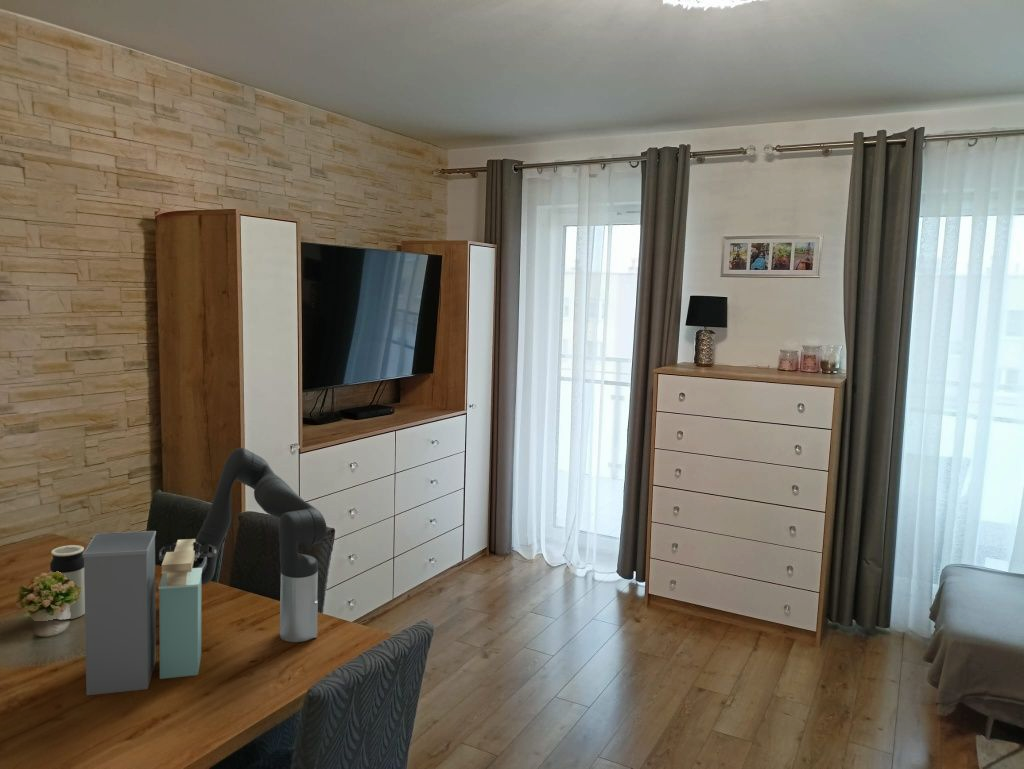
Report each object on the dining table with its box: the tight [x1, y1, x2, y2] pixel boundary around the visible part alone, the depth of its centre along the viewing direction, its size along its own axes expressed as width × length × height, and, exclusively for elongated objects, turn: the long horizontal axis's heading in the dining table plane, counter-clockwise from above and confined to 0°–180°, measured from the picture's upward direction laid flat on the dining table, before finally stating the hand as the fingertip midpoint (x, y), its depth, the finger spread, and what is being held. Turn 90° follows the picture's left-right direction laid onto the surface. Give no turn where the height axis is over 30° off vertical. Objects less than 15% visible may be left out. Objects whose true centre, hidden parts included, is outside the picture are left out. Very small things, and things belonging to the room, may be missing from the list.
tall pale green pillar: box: [157, 568, 202, 680], centre depth 175 cm, size 8×10×22 cm
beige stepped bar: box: [161, 538, 196, 586], centre depth 175 cm, size 6×22×5 cm, turn 18°
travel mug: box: [49, 544, 85, 620], centre depth 198 cm, size 8×8×18 cm
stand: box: [82, 530, 157, 696], centre depth 168 cm, size 12×13×32 cm
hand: (184, 546), depth 181 cm, fingers closed on beige stepped bar, 4 cm apart
